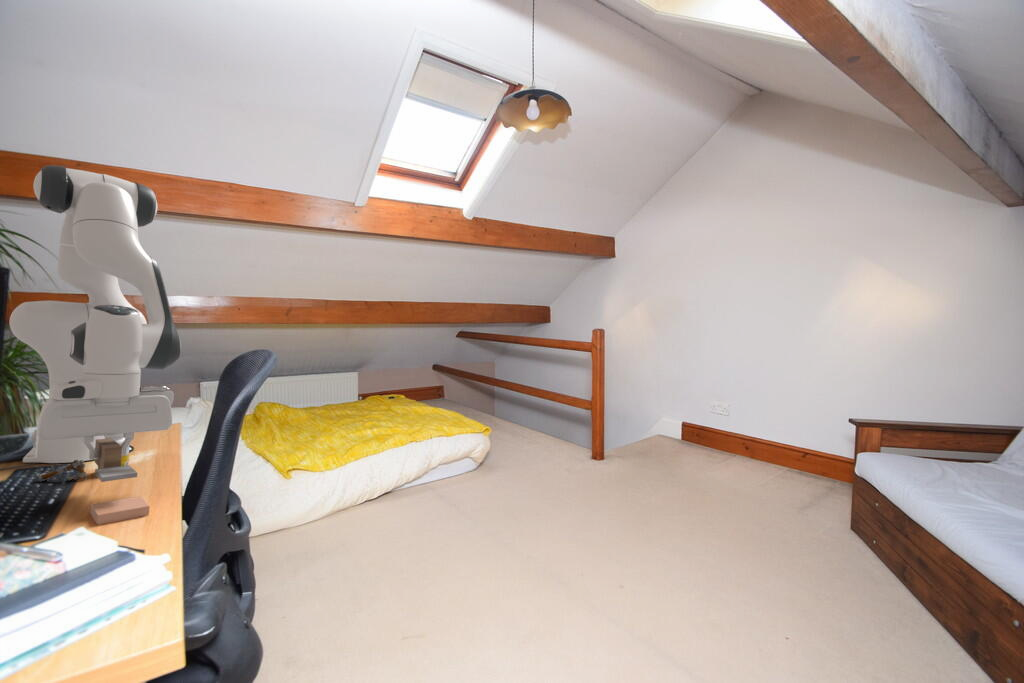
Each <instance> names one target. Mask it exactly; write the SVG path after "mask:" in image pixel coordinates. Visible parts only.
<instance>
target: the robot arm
mask: <svg viewBox="0 0 1024 683" xmlns="http://www.w3.org/2000/svg"><path fill="white" fill-rule="evenodd" d="M32 187H33V192H34V195H35V196H36V198H37V202H38V203H39V204H40V205H41V206H42V207H43V208H44V209H47V210H48V211H52V212H55V213H57V214H62V213H63V214H65V217H64V220H63V223H62V227H61V231H60V240H59V249H58V262H57V263H58V264H57V275H58V276H59V278H60V279H61V280H62V281H63V282H64V283H65V284H67V285H69V286H71V287H72V288H75V289H77V290H80V291H81V292H84V293H85V294H87V296H88V302H74V301H73V302H72V301H61V300H36V301H35V300H34V301H25V302H22V303H20V304H19V305H17V306H16V307H15V308H14V309H13V311H12V312H11V315H10V316H9V328H10V330H11V332H12V333H13V335H14V337H15V338H17V340H19V341H21V342H22V343H24V344H26V345H27V346H29V347H30V348H31V349H33V350H34V351H35V352H37V353H38V355H39V356H40V357H41V358H42V360H43V361H44V363H45V366H46V368H47V371H48V381H49V390H48V392H49V393H48V395H49V397H48V399H47V400H46V401H45V402H44V404H43V405H42V407H41V410H40V413H39V418H38V420H37V421H38V422H37V427H36V429H35V430H34V431H32V433H31V434H32V435H31V441H33V443H32V448H31V450H29V452H28V453H26V454H25V456H24V457H23V458H22V463H44V464H46V463H47V464H60V463H61V464H62V463H63V464H66V463H74V462H73V461H74V460H78V461H79V460H84V461H94V460H95V459H99V458H100V453H101V450H100V449H99V448H95V444H96V439H105V437H104V435H114V434H123V437H124V438H126V439H125V440H124V441H123V443H122V444H121V446H122V455H121V456H125V455H126V447H128V445H129V446H130V445H131V442H132V441H133V440H134V438H135V433H136V434H137V433H145V432H159V431H161V432H162V431H168V430H169V429H170V428H171V427H172V425H173V413H172V405H173V403H174V401H175V400H174V399H175V393H174V391H173V390H172V389H171V388H168V387H166V386H165V385H158V386H149V385H148V386H143V385H142V386H141V376H142V373H141V372H142V369H148V370H149V369H150V370H161V371H162V370H164V369H166V368H168V367H170V366H172V365H173V364H175V363H176V362H177V361H178V360H179V358H180V357H181V352H182V343H181V339H180V336H179V333H178V330H177V328H176V324H175V322H174V319H173V315H172V312H171V311H172V310H171V308H170V303H169V300H168V299H169V298H168V295H167V291H166V287H165V283H164V279H163V276H162V273H161V269H160V267H159V264H158V263H157V261H156V259H155V258H152V257H151V256H150V255H148V254H147V252H146V251H145V250H144V248H143V247H142V245H141V243H140V240H139V228H141V227H145V226H147V225H150V224H151V223H152V222H153V221H154V219H155V217H156V215H157V213H158V210H159V209H158V202H157V198H156V194H155V192H154V191H153V189H152V188H151V187H149V186H146V185H144V184H142V183H140V182H135V183H134V182H132V181H129V180H126V179H123V178H121V177H116V176H113V175H109V174H105V173H98V172H97V173H96V172H93V171H87V170H82V169H75V168H68V167H66V166H62V165H55V164H51V165H50V164H48V165H45V166H43V167H41V168H40V171H39V172H38V173H37V174H36V175H35V177H34V181H33V186H32ZM119 279H120V280H121V281H124V282H126V283H129V284H131V285H132V286H134V287H135V288H136V289H137V290H138V291H139V292H140V294H141V297H142V299H143V305H144V308H145V309H144V310H145V312H146V317H147V320H148V321H147V320H146V317H145V316H144V314H143V313H142V312H141V311H140V310H139V309H137V308H135V307H134V305H132V304H131V303H130V302H129V301H128V300H127V298H126V296H124V294H123V293H122V290H121V288H120V283H119Z"/></svg>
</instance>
